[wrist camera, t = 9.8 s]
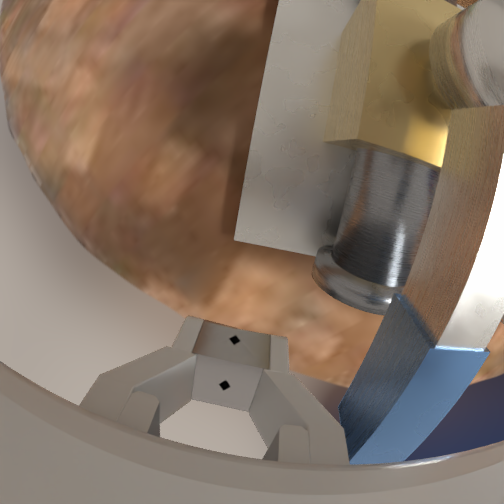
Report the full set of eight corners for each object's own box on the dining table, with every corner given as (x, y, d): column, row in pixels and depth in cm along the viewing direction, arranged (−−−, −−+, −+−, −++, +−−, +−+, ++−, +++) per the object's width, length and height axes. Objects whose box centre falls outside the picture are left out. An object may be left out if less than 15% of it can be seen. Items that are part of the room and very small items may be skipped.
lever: (429, 1, 6) (473, -34, 3) (516, 56, 6) (567, 46, 3) (320, 405, 12) (326, 464, 9) (402, 408, 11) (419, 459, 8)
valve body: (481, 25, 12) (557, -4, 2) (438, 277, 20) (508, 354, 10) (290, -46, 12) (293, -135, 3) (235, 235, 20) (198, 317, 11)
